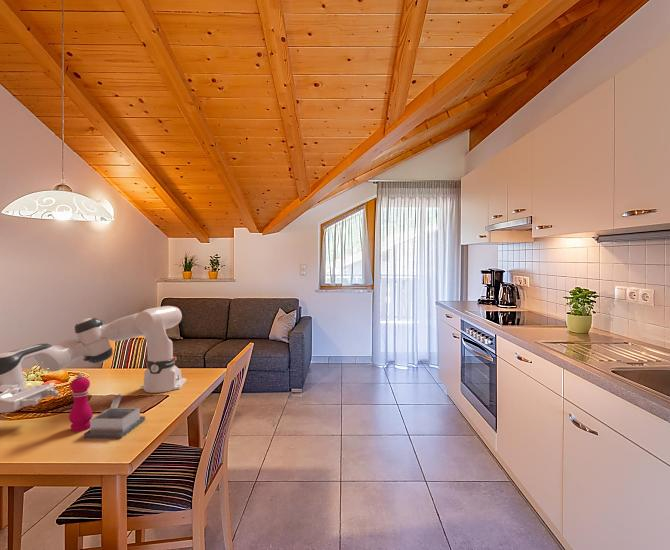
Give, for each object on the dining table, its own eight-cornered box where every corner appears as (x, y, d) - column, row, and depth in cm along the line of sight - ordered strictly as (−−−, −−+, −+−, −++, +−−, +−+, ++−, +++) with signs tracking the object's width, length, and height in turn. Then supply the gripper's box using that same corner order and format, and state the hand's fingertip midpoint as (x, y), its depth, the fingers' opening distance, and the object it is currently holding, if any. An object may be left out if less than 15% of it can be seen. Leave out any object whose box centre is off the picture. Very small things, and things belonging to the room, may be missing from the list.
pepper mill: (83, 423, 152) (82, 370, 151) (97, 426, 149) (96, 372, 148) (64, 430, 145) (63, 375, 145) (78, 433, 142) (77, 377, 142)
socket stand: (111, 419, 155) (111, 405, 155) (145, 420, 154) (144, 406, 154) (84, 437, 139) (83, 422, 139) (121, 438, 138) (120, 422, 138)
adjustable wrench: (115, 398, 176) (114, 395, 176) (131, 394, 178) (130, 390, 178) (100, 424, 153) (98, 420, 152) (118, 419, 154) (117, 415, 154)
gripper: (33, 396, 158) (68, 396, 158) (-14, 416, 138) (26, 416, 137) (33, 380, 158) (67, 380, 158) (-14, 397, 138) (25, 398, 137)
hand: (48, 397), depth 147 cm, fingers open, 8 cm apart
